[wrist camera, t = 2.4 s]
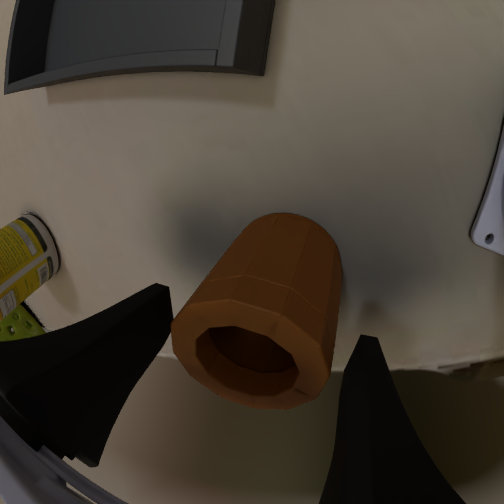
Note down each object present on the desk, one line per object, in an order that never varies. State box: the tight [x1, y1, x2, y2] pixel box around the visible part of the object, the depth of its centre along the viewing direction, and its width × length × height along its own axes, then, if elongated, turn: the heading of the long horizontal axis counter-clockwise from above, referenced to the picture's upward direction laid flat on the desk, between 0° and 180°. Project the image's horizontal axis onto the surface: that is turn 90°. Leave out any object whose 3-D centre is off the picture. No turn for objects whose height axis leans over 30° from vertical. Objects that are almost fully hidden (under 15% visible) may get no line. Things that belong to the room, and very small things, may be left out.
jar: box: [171, 213, 342, 409], centre depth 12 cm, size 5×5×6 cm
